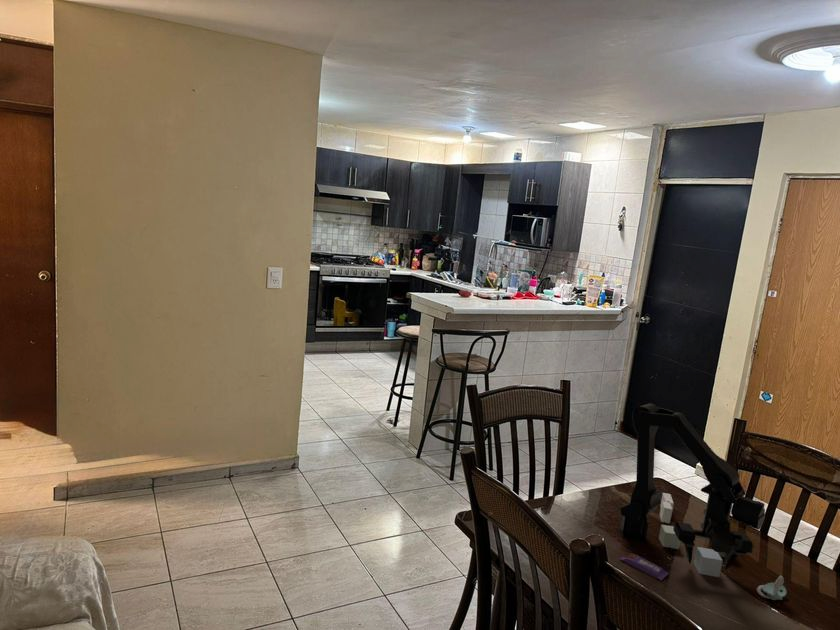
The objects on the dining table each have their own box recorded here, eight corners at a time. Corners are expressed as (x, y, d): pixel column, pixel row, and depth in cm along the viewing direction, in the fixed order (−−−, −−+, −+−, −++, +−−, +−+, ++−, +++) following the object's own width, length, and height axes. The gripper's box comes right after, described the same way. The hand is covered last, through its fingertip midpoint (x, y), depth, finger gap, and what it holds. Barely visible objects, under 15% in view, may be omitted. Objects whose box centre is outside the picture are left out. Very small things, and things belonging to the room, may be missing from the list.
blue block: (699, 573, 154) (702, 556, 153) (693, 563, 159) (696, 546, 158) (719, 577, 153) (722, 560, 153) (712, 566, 158) (716, 550, 158)
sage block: (662, 546, 166) (665, 532, 165) (658, 538, 170) (661, 524, 170) (678, 549, 165) (681, 535, 165) (674, 541, 170) (677, 527, 169)
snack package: (669, 570, 152) (662, 577, 148) (668, 576, 152) (660, 584, 149) (628, 549, 160) (620, 555, 156) (627, 555, 160) (619, 562, 157)
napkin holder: (659, 503, 194) (662, 487, 194) (691, 519, 186) (695, 502, 185) (634, 513, 185) (636, 496, 185) (666, 530, 177) (669, 513, 176)
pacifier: (752, 595, 147) (779, 607, 143) (756, 572, 146) (783, 584, 142) (761, 584, 152) (787, 595, 148) (765, 562, 152) (791, 573, 147)
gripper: (690, 521, 147) (679, 576, 149) (767, 534, 144) (755, 590, 147) (677, 501, 158) (668, 553, 160) (750, 512, 155) (739, 565, 158)
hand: (707, 565), depth 156 cm, fingers open, 9 cm apart
